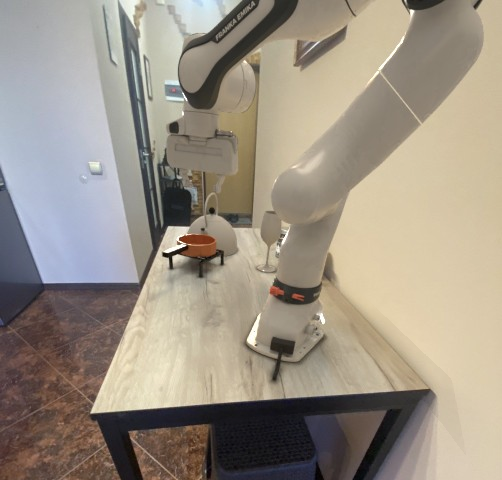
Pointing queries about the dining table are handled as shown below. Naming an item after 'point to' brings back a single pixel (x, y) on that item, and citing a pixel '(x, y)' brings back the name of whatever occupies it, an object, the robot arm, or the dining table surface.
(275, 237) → the wineglass
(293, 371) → the dining table surface
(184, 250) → the pan
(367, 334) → the dining table surface
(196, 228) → the kettle
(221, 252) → the rack
